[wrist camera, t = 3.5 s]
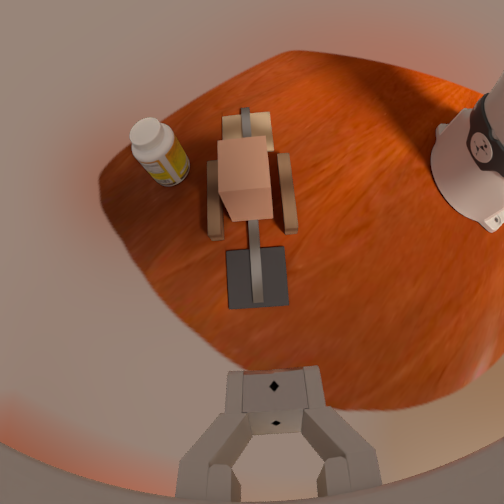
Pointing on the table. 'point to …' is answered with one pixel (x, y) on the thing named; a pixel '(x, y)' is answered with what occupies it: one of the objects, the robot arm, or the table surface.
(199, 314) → the table surface
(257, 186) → the block
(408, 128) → the table surface
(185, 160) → the supplement bottle
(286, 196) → the track
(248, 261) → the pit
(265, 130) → the mat
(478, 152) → the robot arm
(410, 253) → the table surface
